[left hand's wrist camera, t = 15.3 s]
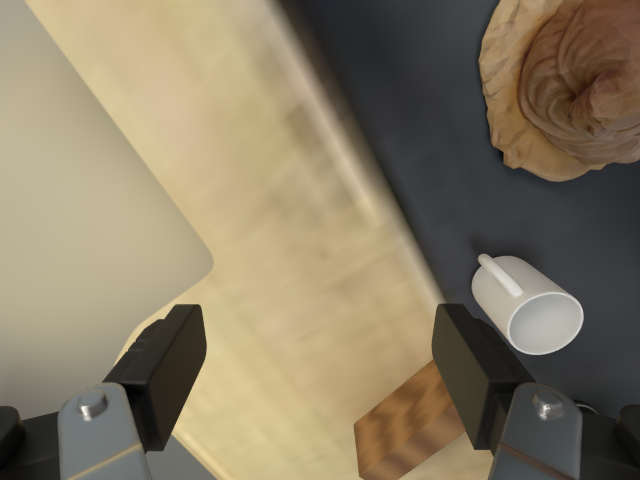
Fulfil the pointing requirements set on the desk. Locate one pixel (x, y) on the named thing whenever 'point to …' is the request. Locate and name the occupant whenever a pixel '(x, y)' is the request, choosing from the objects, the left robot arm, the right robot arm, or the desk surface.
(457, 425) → the bar
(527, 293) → the mug
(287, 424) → the desk surface
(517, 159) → the sculpture
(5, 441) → the left robot arm
